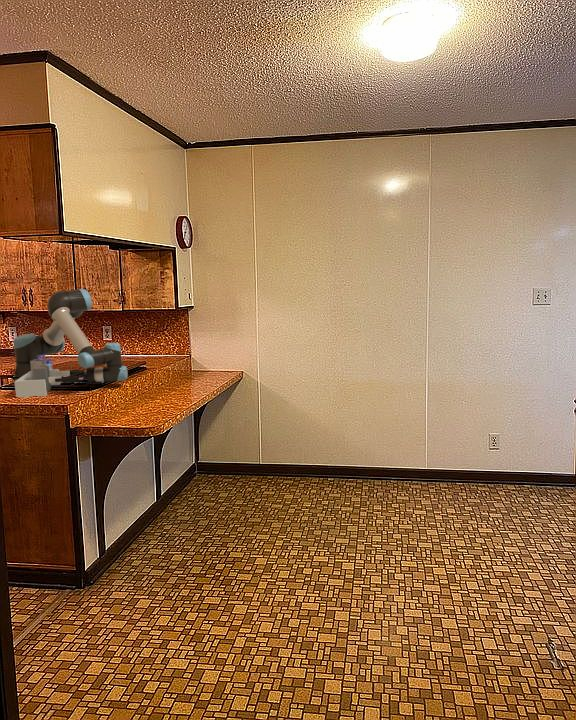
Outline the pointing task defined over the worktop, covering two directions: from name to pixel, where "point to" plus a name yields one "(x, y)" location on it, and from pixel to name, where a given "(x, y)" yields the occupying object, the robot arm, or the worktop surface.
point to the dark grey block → (42, 375)
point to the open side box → (32, 385)
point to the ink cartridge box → (41, 362)
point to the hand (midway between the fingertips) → (52, 377)
